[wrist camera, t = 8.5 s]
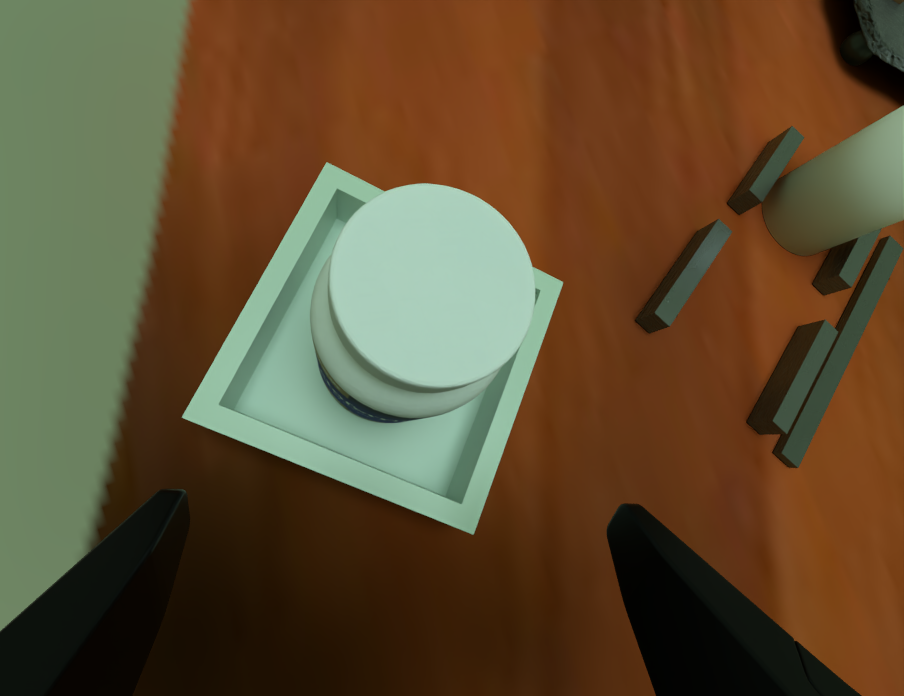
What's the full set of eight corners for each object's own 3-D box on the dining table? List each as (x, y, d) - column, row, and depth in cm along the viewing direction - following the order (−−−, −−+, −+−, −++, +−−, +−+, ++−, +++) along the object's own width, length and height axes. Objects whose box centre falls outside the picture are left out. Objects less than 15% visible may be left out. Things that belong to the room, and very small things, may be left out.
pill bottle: (288, 373, 18) (237, 304, 9) (370, 265, 20) (402, 110, 11) (407, 451, 19) (480, 465, 9) (477, 340, 21) (599, 256, 11)
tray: (452, 520, 19) (473, 534, 16) (206, 421, 18) (181, 417, 15) (533, 303, 22) (563, 282, 19) (327, 201, 21) (326, 162, 18)
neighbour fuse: (823, 272, 27) (1090, 180, 18) (753, 232, 27) (992, 114, 17) (835, 202, 29) (1089, 81, 19) (769, 162, 28) (998, 16, 18)
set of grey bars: (788, 467, 24) (817, 469, 23) (632, 324, 23) (651, 317, 22) (894, 251, 29) (922, 241, 28) (768, 129, 29) (790, 113, 27)
